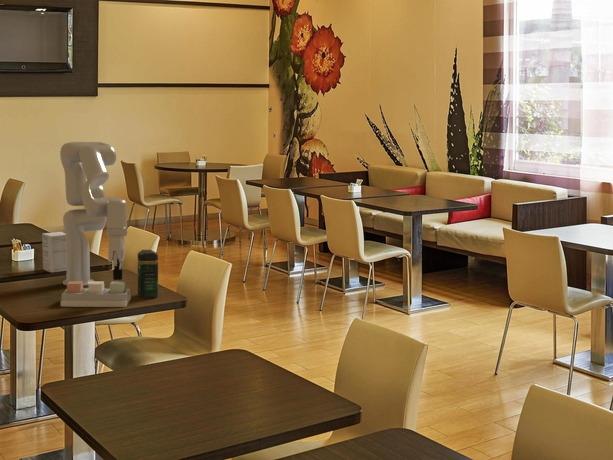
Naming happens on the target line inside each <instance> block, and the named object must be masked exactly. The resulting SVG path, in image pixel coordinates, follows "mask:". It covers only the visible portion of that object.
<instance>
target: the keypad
mask: <svg viewBox="0 0 613 460" xmlns="http://www.w3.org/2000/svg"><path fill="white" fill-rule="evenodd" d="M131 295H132V294H131V288H125V292H124V293H110V287H109V288H106V287H104V291H103V292H102V293H88V287H83V291H82V292H81V293H67V288H66V289H65V290H64V291H63V292H62V293H61V300H60V307H67V308H68V307H78V308H81V307H84V308H85V307H86V308H87V307H88V308H89V307H90V308H93V307H94V308H99V307H100V308H103V307H104V308H106V307H107V308H126V307H127V305H128V304H129V303H130V301H131V299H132V296H131Z"/></svg>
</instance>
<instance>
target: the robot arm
mask: <svg viewBox="0 0 613 460" xmlns="http://www.w3.org/2000/svg"><path fill="white" fill-rule="evenodd" d="M59 153H60V154H59V155H60V162H61V165H62V168H63V171H64V181H65V182H64V183H65V197H66V198H65V199H66V203H67V204H68V205H70V206H73V207H81V206H82V207H84V208H77V209H69V210H68V211H66V212H65V213H64V214H63V218H62V220H63V228H64V233H65V235H66V267H67V271H66V279H64V280H63V281H62V284H63V286H67V283H68V282H69V281H83V287H85V286H88V284H89V283H90V282H91V281H95V280H94V278H93V279H92V278H91V267H90V266H91V263H90V262H91V261H90V259H91V258H90V255H91V254H90V253H91V251H90V241H89V239H88V237H87V236H86V235H85V232H96V231H102V230H104V228H105V227H106V236H107V237H108V253H107V254H108V255H107V256H108V257H107V259H108V263H111V262H112V268H113V269H112V272H113V273H112V274H113V275H112V277H113V279H112V280H113V281H122V280H123V261H124V260H125V256H126V245H125V237H127V236H128V206H127V205H128V203H127V201H126V200H125V199H121V198H120V197H117V196H110V197H109V196H108V197H107V196H106V192H105V190H104V186H103V185H104V184H106V182H108V180H109V178H110V177H109V176H110V175H109V171H108V168H107V167H108V166H109V167H110V166H114V165H115V163H116V161H117V153H116V151H115V149H114V147H113V146H112V145H110V144H108V143H105V142H100V141H71V142H66V143H64V144H62V146H60V152H59ZM106 166H107V167H106Z"/></svg>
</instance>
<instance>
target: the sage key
mask: <svg viewBox="0 0 613 460" xmlns="http://www.w3.org/2000/svg"><path fill="white" fill-rule="evenodd" d="M109 288H110V293H124V292H125V289H126V281H111V282H110V283H109Z"/></svg>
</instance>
